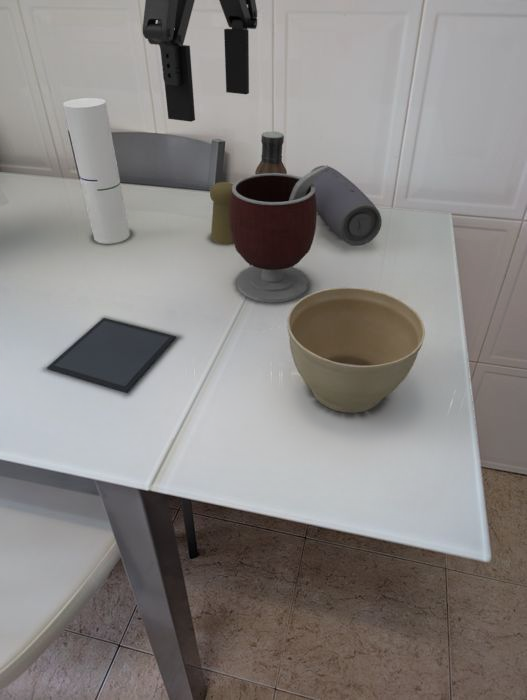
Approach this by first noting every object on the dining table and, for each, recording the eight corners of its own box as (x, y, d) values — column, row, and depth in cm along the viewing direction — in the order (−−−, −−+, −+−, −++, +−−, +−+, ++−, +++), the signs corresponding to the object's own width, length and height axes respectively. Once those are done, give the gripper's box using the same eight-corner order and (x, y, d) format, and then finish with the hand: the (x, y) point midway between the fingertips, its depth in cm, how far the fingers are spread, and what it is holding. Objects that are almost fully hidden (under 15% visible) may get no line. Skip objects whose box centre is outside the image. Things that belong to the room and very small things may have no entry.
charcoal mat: (47, 369, 69) (46, 367, 69) (103, 319, 78) (103, 317, 78) (126, 393, 65) (126, 391, 65) (176, 337, 74) (175, 335, 74)
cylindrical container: (101, 227, 105) (72, 97, 89) (134, 229, 104) (111, 98, 88) (88, 242, 99) (56, 107, 83) (123, 244, 98) (97, 107, 83)
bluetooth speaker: (380, 249, 97) (388, 200, 91) (335, 254, 95) (341, 204, 89) (338, 205, 114) (343, 161, 108) (300, 209, 112) (302, 164, 106)
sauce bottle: (252, 242, 99) (251, 138, 87) (254, 229, 104) (253, 128, 92) (284, 243, 99) (288, 139, 87) (285, 229, 104) (288, 129, 92)
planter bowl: (307, 340, 74) (311, 276, 67) (417, 367, 69) (433, 302, 62) (266, 412, 62) (266, 343, 56) (394, 450, 57) (412, 381, 51)
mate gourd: (237, 308, 81) (232, 187, 68) (228, 267, 91) (223, 156, 79) (329, 300, 82) (341, 181, 70) (310, 261, 93) (318, 151, 81)
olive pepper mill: (219, 246, 98) (216, 192, 91) (205, 235, 102) (201, 182, 95) (245, 239, 100) (244, 186, 93) (231, 228, 104) (229, 176, 97)
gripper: (157, -205, 32) (186, 138, 45) (289, -147, 50) (282, 86, 63) (64, -196, 34) (117, 129, 48) (223, -144, 52) (229, 81, 66)
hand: (212, 105), depth 55 cm, fingers open, 13 cm apart
